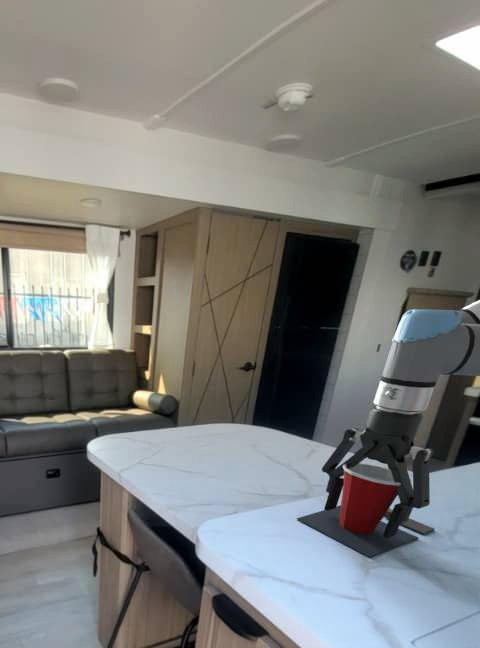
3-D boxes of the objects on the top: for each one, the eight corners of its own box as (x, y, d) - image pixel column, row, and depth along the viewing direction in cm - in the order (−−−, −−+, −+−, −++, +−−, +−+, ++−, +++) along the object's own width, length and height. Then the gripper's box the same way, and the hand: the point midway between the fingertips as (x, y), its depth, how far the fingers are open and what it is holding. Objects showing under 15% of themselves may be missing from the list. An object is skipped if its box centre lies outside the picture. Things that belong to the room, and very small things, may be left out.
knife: (344, 500, 90) (345, 496, 90) (355, 497, 92) (356, 492, 92) (422, 534, 78) (425, 529, 77) (433, 530, 79) (436, 525, 79)
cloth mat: (343, 505, 88) (343, 504, 88) (417, 538, 76) (418, 537, 76) (296, 519, 82) (296, 518, 82) (369, 558, 70) (370, 556, 70)
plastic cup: (399, 531, 78) (423, 474, 73) (373, 548, 72) (396, 487, 67) (342, 509, 86) (360, 456, 81) (314, 522, 80) (331, 466, 75)
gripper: (321, 396, 76) (293, 500, 86) (468, 430, 58) (412, 557, 67) (346, 393, 80) (316, 494, 89) (493, 424, 61) (436, 547, 71)
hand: (357, 521), depth 78 cm, fingers open, 11 cm apart
